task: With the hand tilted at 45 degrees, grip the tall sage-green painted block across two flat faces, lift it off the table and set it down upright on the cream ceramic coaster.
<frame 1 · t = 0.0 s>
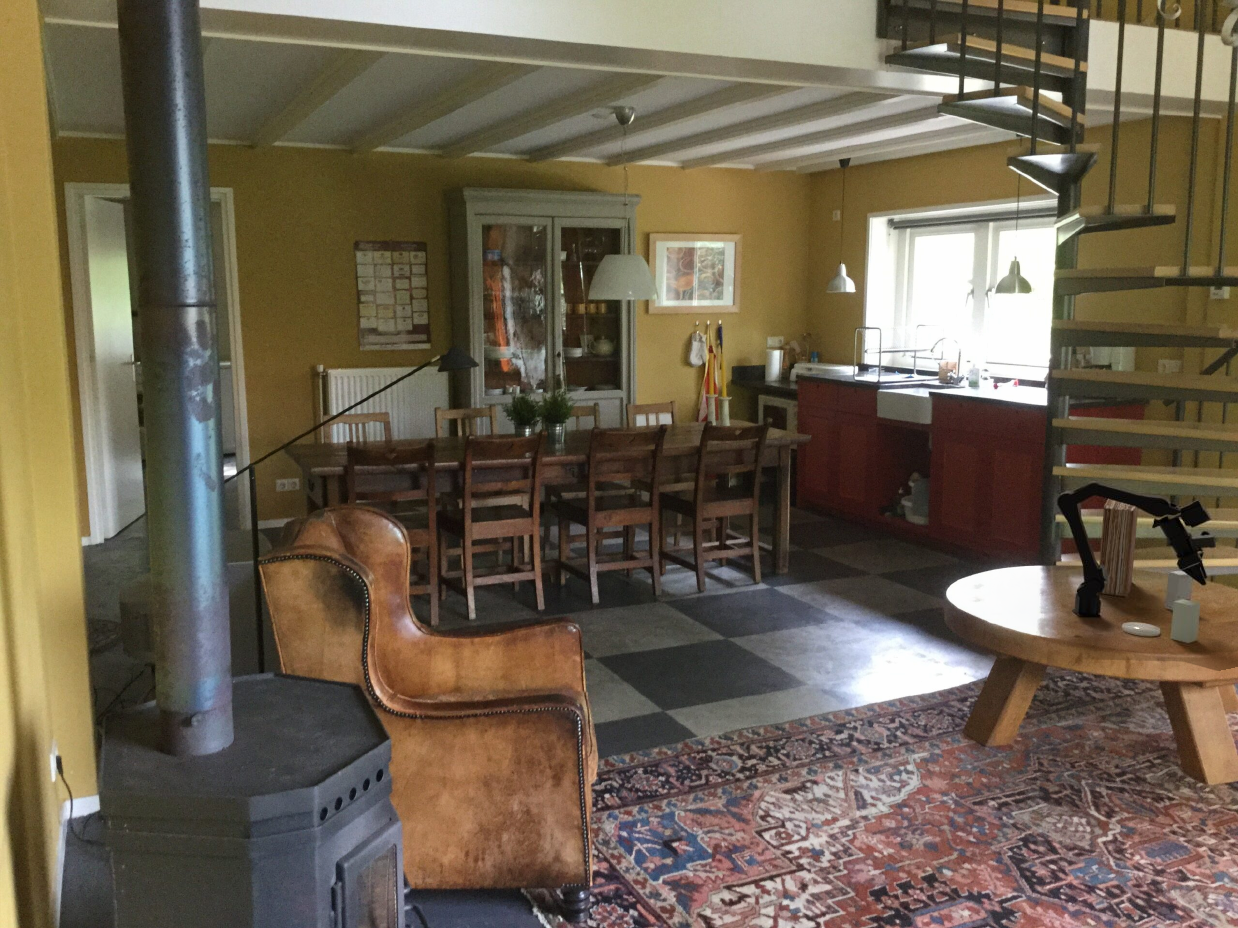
hand: (1205, 581, 307), 15 cm above the table, tool tilted 35°, fingers open, 9 cm apart
skincare box: (1177, 609, 331), on the table
brown striped upright block: (1114, 588, 356), on the table
coaster: (1140, 631, 307), on the table
sage block: (1183, 639, 300), on the table
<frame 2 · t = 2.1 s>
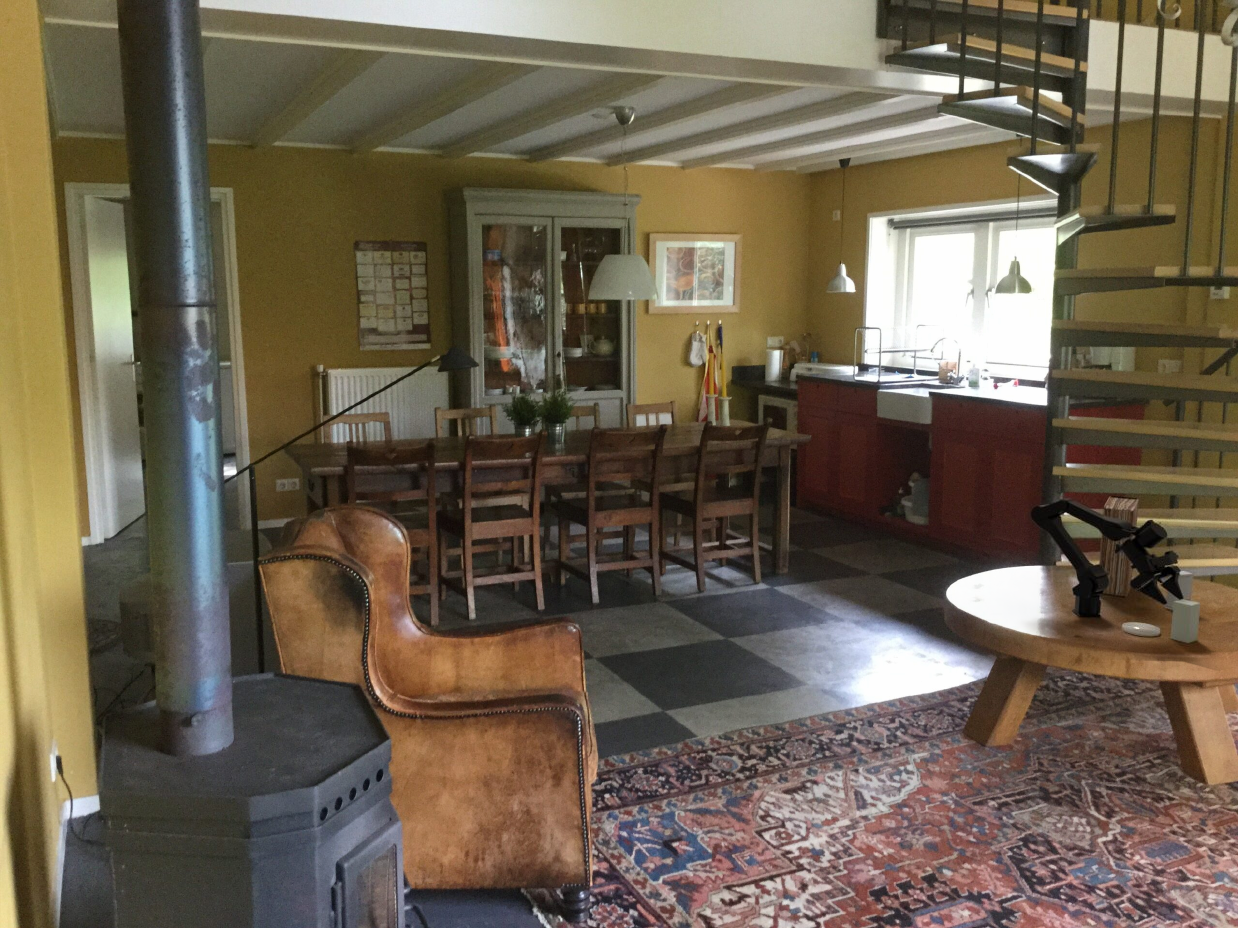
hand: (1174, 601, 302), 10 cm above the table, tool tilted 45°, fingers open, 9 cm apart
nothing on the table moved.
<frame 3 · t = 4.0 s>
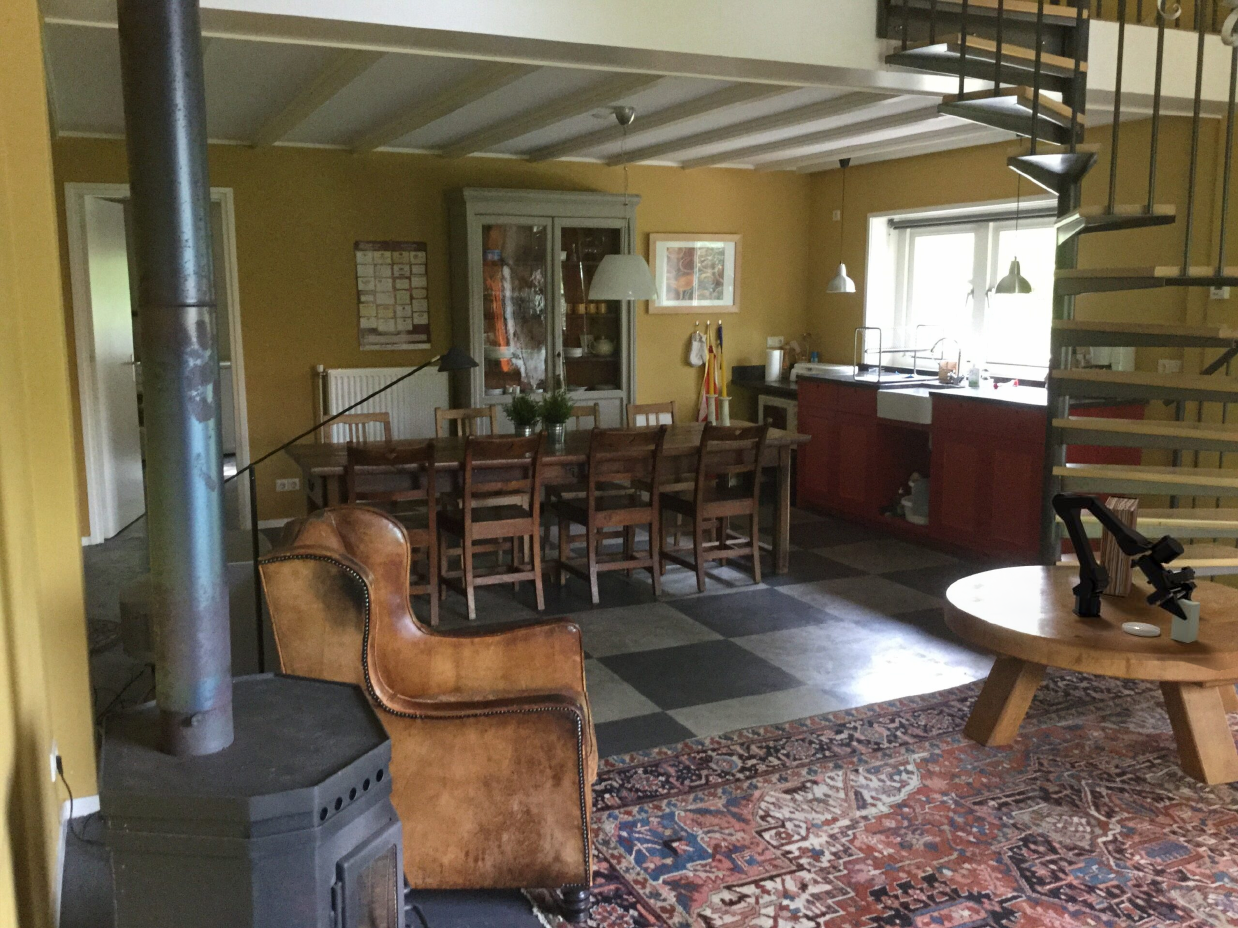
hand: (1190, 618, 298), 7 cm above the table, tool tilted 45°, fingers closed on sage block, 5 cm apart
sage block: (1183, 639, 300), on the table, touching gripper
everything else where it was.
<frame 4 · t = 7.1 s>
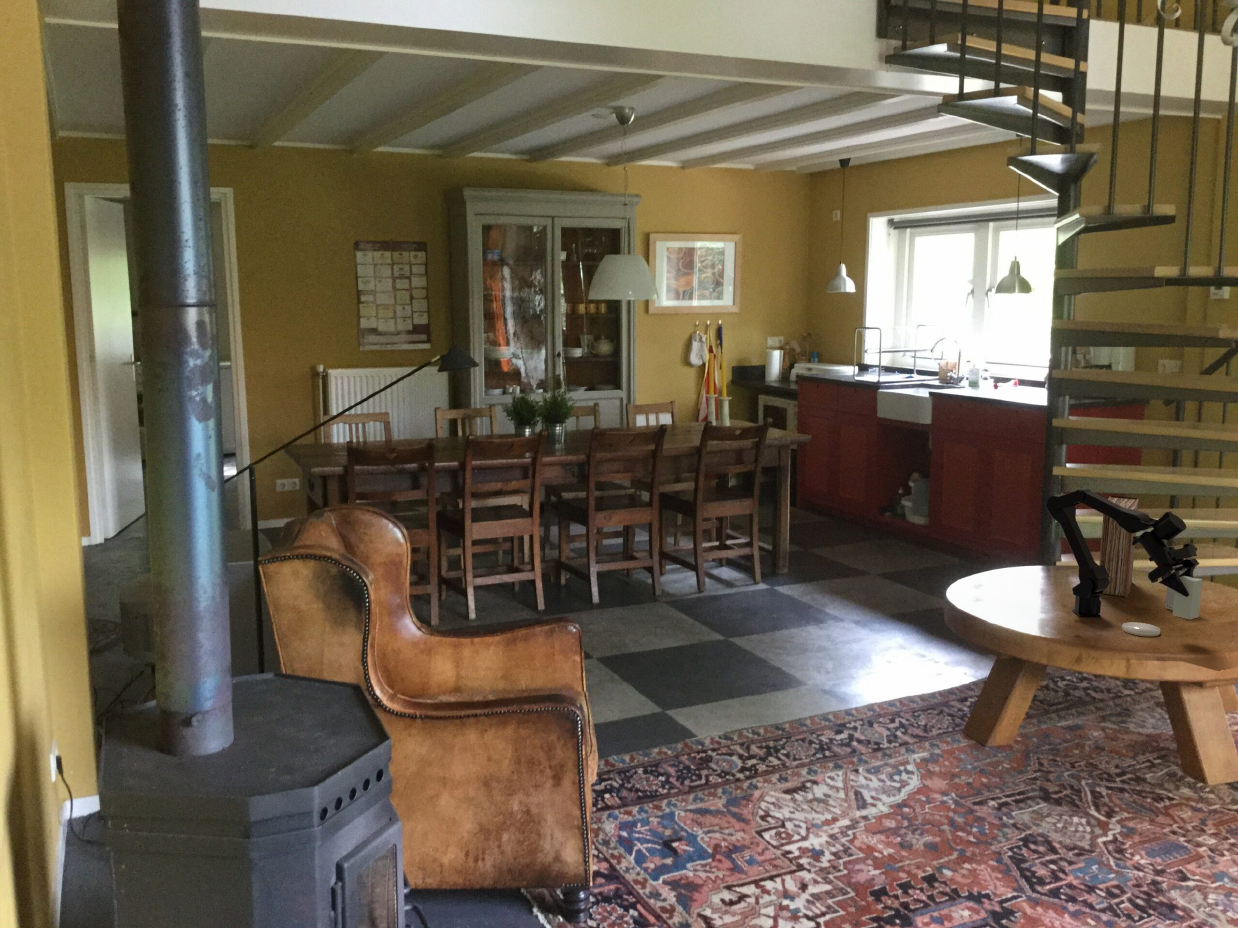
hand: (1192, 594, 297), 14 cm above the table, tool tilted 45°, fingers closed on sage block, 5 cm apart
sage block: (1185, 615, 299), point 7 cm above the table, touching gripper
everything else where it was.
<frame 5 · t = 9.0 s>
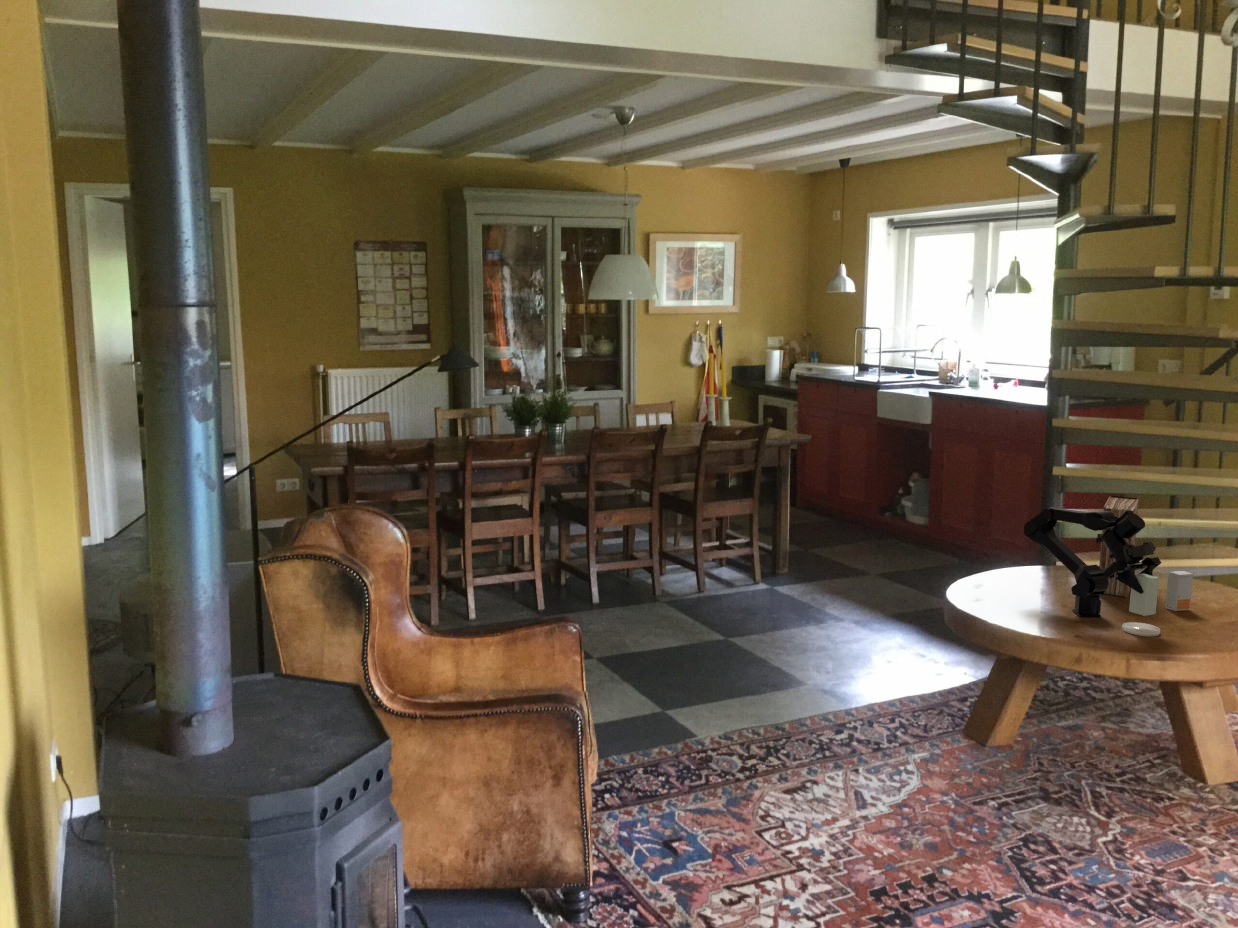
hand: (1148, 592, 304), 12 cm above the table, tool tilted 45°, fingers closed on sage block, 5 cm apart
sage block: (1142, 612, 307), point 6 cm above the table, touching gripper
everything else where it was.
when the fingers open (9 cm above the table, at t = 10.4 s): sage block stays where it is, resting on coaster.
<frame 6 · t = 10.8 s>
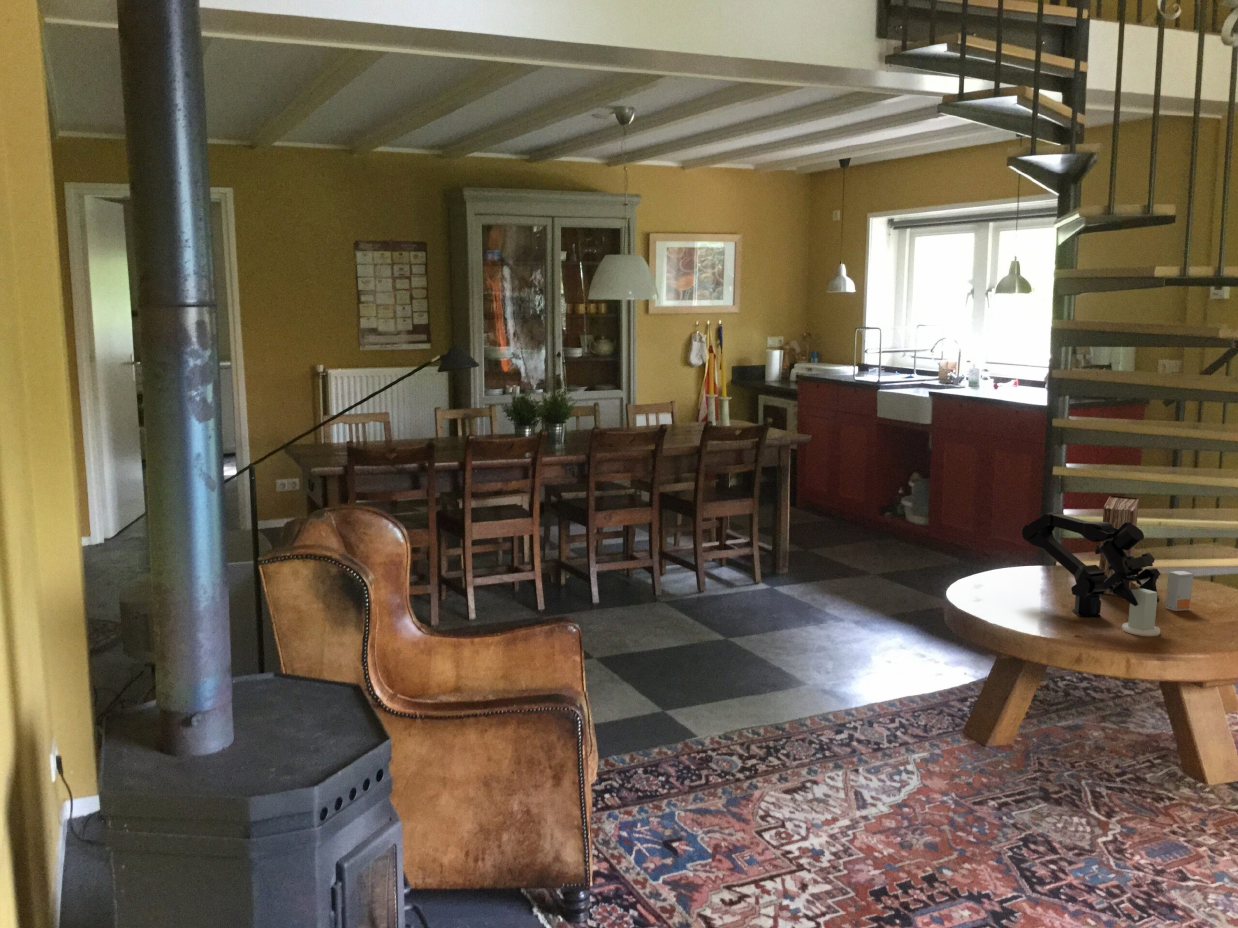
hand: (1147, 603, 305), 9 cm above the table, tool tilted 45°, fingers open, 9 cm apart
sage block: (1141, 627, 307), point 1 cm above the table, touching coaster
everything else where it was.
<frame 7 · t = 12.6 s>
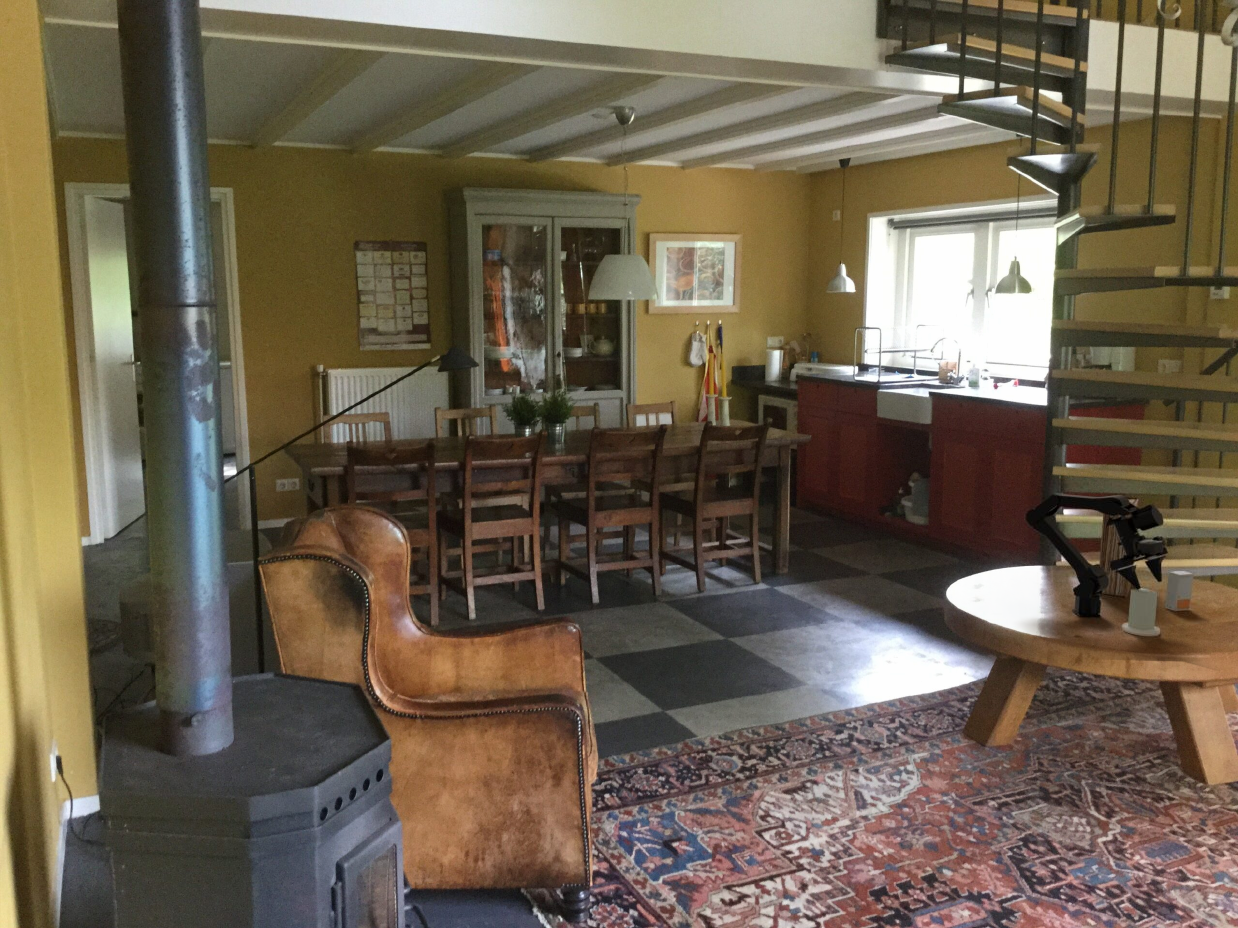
hand: (1149, 585, 309), 13 cm above the table, tool tilted 25°, fingers open, 9 cm apart
sage block: (1141, 627, 307), point 1 cm above the table, touching coaster, gripper
everything else where it was.
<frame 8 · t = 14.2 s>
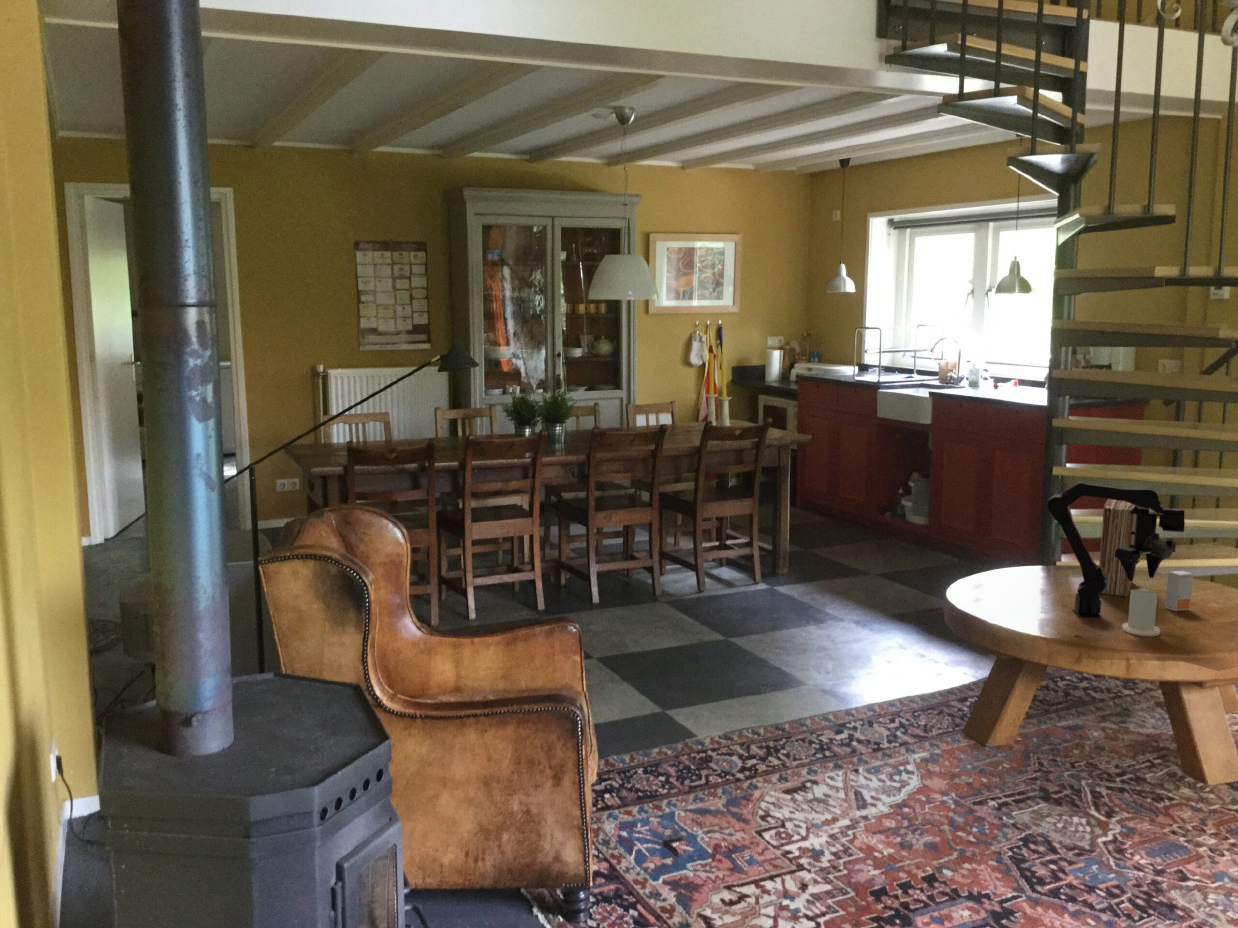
hand: (1141, 579, 316), 13 cm above the table, tool pointing down, fingers open, 9 cm apart
sage block: (1140, 627, 307), point 1 cm above the table, touching coaster
everything else where it was.
at the end: sage block 0.1 cm off-centre on the coaster, point 1.2 cm above the coaster's base; sage block tilted 0°; the gripper is holding nothing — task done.
